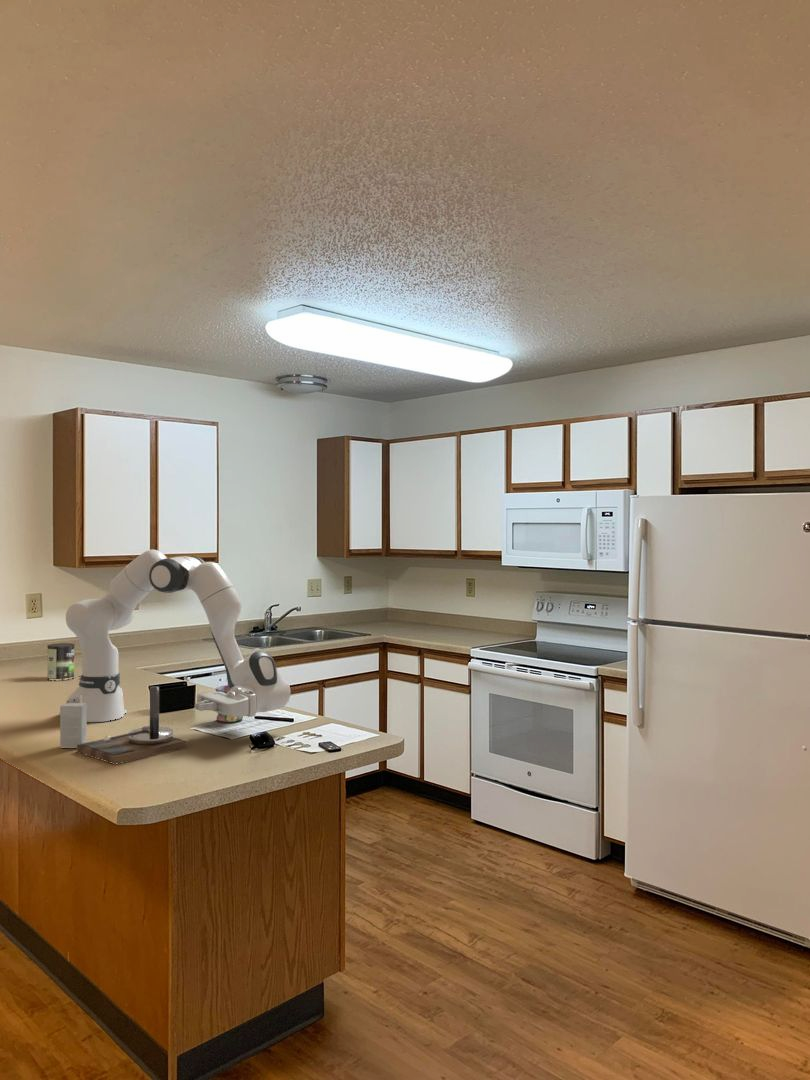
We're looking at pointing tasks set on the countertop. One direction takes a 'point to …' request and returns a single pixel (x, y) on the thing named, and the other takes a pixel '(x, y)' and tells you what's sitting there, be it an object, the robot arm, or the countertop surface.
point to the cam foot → (152, 732)
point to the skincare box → (73, 725)
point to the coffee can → (60, 660)
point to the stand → (127, 749)
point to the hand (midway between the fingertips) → (197, 707)
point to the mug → (221, 716)
